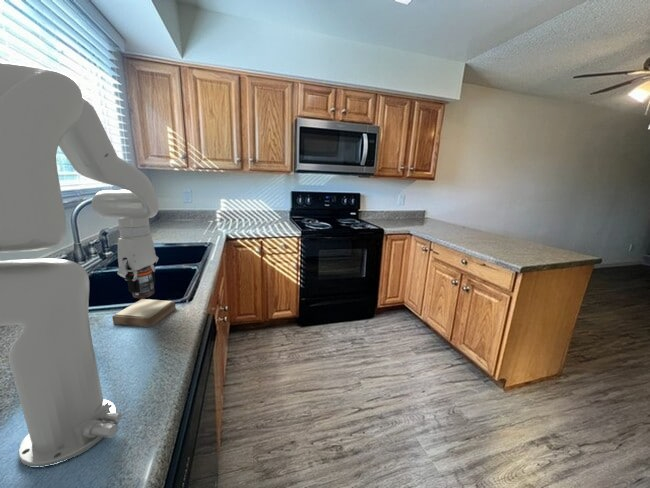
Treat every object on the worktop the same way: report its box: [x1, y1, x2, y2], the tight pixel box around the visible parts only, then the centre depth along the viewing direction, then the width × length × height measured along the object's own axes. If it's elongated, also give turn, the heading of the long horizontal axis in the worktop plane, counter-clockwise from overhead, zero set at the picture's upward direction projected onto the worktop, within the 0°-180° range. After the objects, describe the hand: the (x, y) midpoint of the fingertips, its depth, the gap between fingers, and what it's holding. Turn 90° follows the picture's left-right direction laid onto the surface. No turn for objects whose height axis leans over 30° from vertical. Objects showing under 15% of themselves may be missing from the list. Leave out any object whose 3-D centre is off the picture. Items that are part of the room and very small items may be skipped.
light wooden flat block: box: [112, 298, 177, 328], centre depth 88 cm, size 12×12×3 cm
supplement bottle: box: [130, 266, 155, 299], centre depth 86 cm, size 6×6×11 cm
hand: (142, 287), depth 86 cm, fingers closed on supplement bottle, 6 cm apart
